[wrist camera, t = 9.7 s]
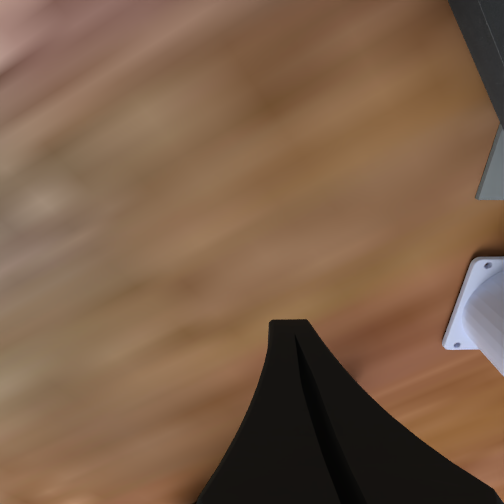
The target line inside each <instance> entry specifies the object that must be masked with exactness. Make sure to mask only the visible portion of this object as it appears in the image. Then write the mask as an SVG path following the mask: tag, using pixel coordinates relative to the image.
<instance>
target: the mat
mask: <svg viewBox="0 0 504 504" xmlns="http://www.w3.org/2000/svg"><path fill="white" fill-rule="evenodd" d="M475 198H476V199H478V200H504V130H503V128H502V125H501V123H500V125H499V128H498V131H497V134H496V137H495V140H494V143H493V146H492V149H491V152H490V155H489V158H488V161H487V164H486V167H485V170H484V173H483V176H482V179H481V182H480V185H479V188H478V191H477V194H476V197H475Z"/></svg>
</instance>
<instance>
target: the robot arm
mask: <svg viewBox="0 0 504 504" xmlns="http://www.w3.org/2000/svg"><path fill="white" fill-rule="evenodd" d="M486 263H488V264H487V265H486V266H484V265H485V264H486ZM455 343H456V344H455ZM442 345H443V347H444V348H445V349H448V350H460V349H480V350H481V352H482V353H483V354H484V355H485V356H486V357H487V358H488V359H489V360H490V362H491V363H492V364H493V365H494V366H495V367H496V368H497V369H498V370H499V372H500V373H501V374H502V375H503V376H504V257H477V258H475V259H473V260H472V262H471V263H470V266H469V269H468V272H467V274H466V277H465V280H464V283H463V286H462V288H461V291H460V294H459V297H458V299H457V302H456V305H455V308H454V311H453V313H452V316H451V319H450V322H449V324H448V327H447V330H446V333H445V336H444V338H443V341H442ZM196 504H504V503H503V502H502V500H501V499H500V498H499V496H498V495H497V493H496V492H495V490H494V489H493V488H491V487H490V486H488V485H486V484H485V483H483V482H482V481H480V480H479V479H477V478H476V477H474V476H472V475H471V474H469V473H468V472H466V471H465V470H463V469H462V468H460V467H459V466H457V465H455V464H454V463H452V462H451V461H449V460H448V459H447V458H445V457H444V456H442V455H441V454H440V453H438V452H437V451H435V450H434V449H433V448H431V447H430V446H429V445H427V444H426V443H424V442H423V441H422V440H421V439H419V438H418V437H417V436H415V435H414V434H413V433H412V432H410V431H409V430H408V429H407V428H406V427H404V426H403V425H402V424H401V423H399V422H398V421H397V420H396V419H394V418H393V417H392V416H391V415H390V414H389V413H388V412H386V411H385V410H384V409H383V408H382V407H381V406H380V405H379V404H378V403H377V402H376V401H375V400H374V399H373V398H371V397H370V396H369V395H368V394H367V393H366V392H365V391H364V390H363V388H362V387H361V386H360V385H359V384H358V383H357V382H356V381H355V380H354V379H353V378H352V377H351V376H350V374H349V373H348V372H347V371H346V370H345V369H344V368H343V366H342V365H341V364H340V363H339V361H338V360H337V359H336V358H335V357H334V355H333V354H332V353H331V352H330V350H329V349H328V348H327V346H326V345H325V344H324V342H323V341H322V340H321V338H320V337H319V336H318V334H317V333H316V331H315V330H314V328H313V327H312V325H311V324H310V322H309V321H308V320H307V319H297V320H271V321H270V322H269V332H268V349H267V354H266V358H265V363H264V366H263V369H262V373H261V376H260V379H259V382H258V385H257V388H256V391H255V393H254V396H253V398H252V401H251V403H250V406H249V408H248V410H247V412H246V415H245V417H244V419H243V421H242V423H241V425H240V427H239V429H238V432H237V433H236V435H235V437H234V439H233V441H232V443H231V445H230V446H229V448H228V450H227V452H226V454H225V455H224V457H223V459H222V461H221V462H220V464H219V466H218V467H217V469H216V471H215V472H214V474H213V475H212V477H211V478H210V480H209V481H208V483H207V484H206V486H205V488H204V489H203V491H202V492H201V494H200V495H199V497H198V501H197V503H196Z"/></svg>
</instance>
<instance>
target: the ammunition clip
mask: <svg viewBox="0 0 504 504" xmlns="http://www.w3.org/2000/svg"><path fill="white" fill-rule="evenodd" d="M448 2H449V4H450V7H451V9H452V11H453V14H454V16H455V18H456V20H457V23H458V25H459V27H460V30H461V32H462V34H463V37H464V39H465V41H466V44H467V46H468V48H469V51H470V53H471V55H472V58H473V60H474V62H475V65H476V67H477V69H478V72H479V74H480V76H481V79H482V81H483V83H484V86H485V88H486V90H487V93H488V95H489V97H490V100H491V102H492V104H493V107H494V109H495V111H496V114H497V116H498V118H499V121H500V123H501V125H502V128H503V130H504V0H448Z"/></svg>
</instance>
